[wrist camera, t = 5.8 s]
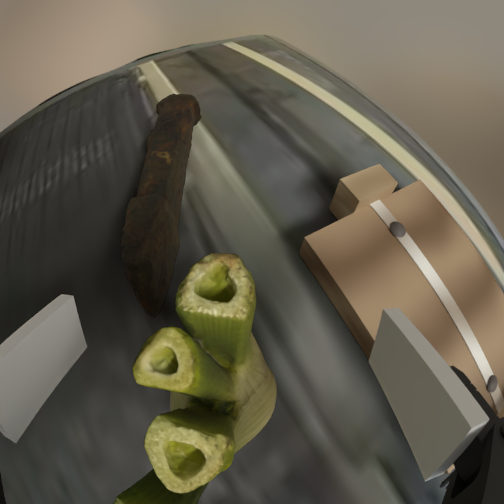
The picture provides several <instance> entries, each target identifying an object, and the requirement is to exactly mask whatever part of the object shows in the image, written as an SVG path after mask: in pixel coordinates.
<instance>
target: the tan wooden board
mask: <svg viewBox="0 0 504 504" xmlns="http://www.w3.org/2000/svg"><path fill="white" fill-rule="evenodd" d="M397 184H398V183H397V181H396V180H395V179H394V178H393V177H392V176H391V175H390V174H389V173H388V172H387V171H386V170H385V169H384V168H383V167H382V166H381V165H380V164H378V165H375V166H372V167H370V168H367V169H365V170H362V171H359V172H357V173H354V174H352V175H349V176H347V177H344V178H342V179H340V180H339V183H338V186H337V189H336V191H335V194H334V197H333V199H332V202H331V205H330V207H329V210H330V211H331V212H332V213H333V215H334V216H335V217H336V218H337V220H338V221H336V222H334V223H332V224H330V225H328V226H326V227H324V228H322V229H320V230H318V231H316V232H314V233H312V234H310V235H308V236H306V237H304V240H303V243H302V246H301V249H300V252H299V254H300V256H301V257H302V259H303V260H304V262H305V263H306V264H307V266H308V267H309V269H310V270H311V272H312V273H313V275H314V276H315V278H316V279H317V281H318V282H319V284H320V285H321V287H322V288H323V290H324V291H325V293H326V294H327V296H328V297H329V299H330V300H331V302H332V303H333V305H334V306H335V308H336V309H337V311H338V312H339V314H340V316H341V317H342V319H343V320H344V322H345V323H346V325H347V326H348V328H349V330H350V331H351V333H352V334H353V336H354V337H355V339H356V341H357V342H358V344H359V345H360V347H361V348H362V350H363V352H364V353H365V355H366V356H367V358H368V360H369V358H370V355H371V352H372V349H373V345H374V342H375V338H376V334H377V331H378V327H379V323H380V319H381V315H382V311H383V309H388V308H399V309H400V310H401V311H402V312H403V313H404V314H405V316H406V317H407V318H408V319H409V320H410V321H411V322H412V323H413V324H414V326H415V327H416V328H417V329H418V330H419V331H420V332H421V333H422V335H423V336H424V337H425V338H426V339H427V340H428V341H429V343H430V344H431V345H432V346H433V347H434V348H435V350H436V351H437V352H438V353H439V354H440V356H441V357H442V358H443V359H444V360H445V362H446V363H447V364H448V365H449V366H455V367H456V368H457V369H459V370H460V371H462V372H463V373H464V374H465V375H466V376H467V377H468V379H469V380H470V381H471V384H473V385H474V386H475V387H476V388H477V391H479V392H480V394H481V395H482V396H483V397H484V399H485V400H486V401H487V403H488V404H489V405H490V407H491V408H492V409H493V411H494V412H495V413H496V415H497V416H498V417H499V418H502V417H504V294H503V292H502V291H501V289H500V287H499V285H498V284H497V282H496V280H495V278H494V277H493V275H492V273H491V272H490V270H489V269H488V267H487V265H486V264H485V262H484V261H483V259H482V258H481V256H480V255H479V253H478V252H477V250H476V249H475V247H474V246H473V244H472V243H471V242H470V240H469V239H468V237H467V236H466V235H465V233H464V232H463V231H462V229H461V228H460V227H459V225H458V224H457V223H456V221H455V220H454V219H453V218H452V216H451V215H450V214H449V213H448V211H447V210H446V209H445V208H444V206H443V205H442V204H441V203H440V202H439V200H438V199H437V198H436V197H435V196H434V195H433V193H432V192H431V191H430V190H429V189H428V188H427V187H426V186H425V184H424V183H423V182H422V181H421V180H418V181H416V182H414V183H412V184H410V185H408V186H406V187H404V188H402V189H400V190H398V191H396V192H394V193H393V191H394V189H395V187H396V186H397ZM454 468H455V466H454V464H452V465H451V466H450V467H449V468H448V469H447V471H446V472H445V473H448V474H449V473H450V472H451V471H452V470H453V469H454Z"/></svg>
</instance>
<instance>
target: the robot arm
mask: <svg viewBox="0 0 504 504" xmlns="http://www.w3.org/2000/svg"><path fill="white" fill-rule="evenodd" d="M86 348H87V344H86V341H85V338H84V334H83V331H82V328H81V324H80V320H79V316H78V313H77V309H76V304H75V300H74V296H71V295H64V294H61V295H60V296H58V297H57V298H56V299H55V300H53V301H52V302H51V303H49V304H48V305H47V306H46V307H44V308H43V309H42V310H41V311H39V312H38V313H37V314H36V315H35V316H33V317H32V318H31V319H30V320H28V321H27V322H26V323H25V324H24V325H22V326H21V327H20V328H19V329H18V330H17V331H15V332H14V333H13V334H12V335H11V336H10V337H8V338H7V339H6V340H5V341H4V342H3V343H2V344H1V345H0V431H1V432H2V434H3V435H4V436H5V437H7V438H8V439H10V440H11V441H13V442H15V443H17V442H18V440H19V438H20V437H21V435H22V434H23V432H24V431H25V430H26V428H27V427H28V425H29V424H30V422H31V421H32V419H33V418H34V416H35V415H36V414H37V412H38V411H39V409H40V408H41V407H42V405H43V404H44V403H45V401H46V400H47V398H48V397H49V396H50V394H51V393H52V392H53V390H54V389H55V388H56V386H57V385H58V384H59V382H60V381H61V380H62V378H63V377H64V376H65V375H66V373H67V372H68V371H69V369H70V368H71V367H72V366H73V364H74V363H75V362H76V361H77V359H78V358H79V357H80V356H81V354H82V353H83V352H84V351H85V349H86ZM369 364H370V366H371V368H372V370H373V372H374V374H375V376H376V378H377V379H378V381H379V383H380V385H381V387H382V389H383V391H384V393H385V395H386V397H387V399H388V401H389V403H390V405H391V407H392V410H393V412H394V414H395V416H396V418H397V420H398V422H399V424H400V426H401V428H402V430H403V433H404V435H405V437H406V439H407V441H408V443H409V446H410V448H411V450H412V452H413V455H414V457H415V459H416V461H417V464H418V466H419V468H420V471H421V473H422V475H423V478H424V480H425V481H427V480H430V479H432V478H434V477H437V476H439V475H441V474H444V473H445V472H446V471H447V469H448V468H449V467H450V466H451V465H452V464H454V466H455V468H456V469H455V470H454V471H453V472H452V473H451V474H450V475H449V476H448V477H447V478H446V479H445V480H444V481H443V482H442V484H441V485H440V487H443V486H444V485H446V484H447V483H448V482H449V484H448V486H447V487H446V489H447V491H446V493H445V496H444V499H443V502H442V504H504V417H502V418H499V417H498V416H497V415H496V413H495V412H494V411H493V409H492V408H491V407H490V405H489V404H488V403H487V401H486V400H485V399H484V397H483V396H482V395H481V394H480V392H479V391H477V388H476V387H475V386H474V385H473V384H471V381H470V380H469V379H468V377H467V376H466V375H465V374H464V373H463V372H462V371H460V370H459V369H457V368H456V367H455V366H449V365H448V364H447V363H446V362H445V360H444V359H443V358H442V357H441V356H440V354H439V353H438V352H437V351H436V350H435V348H434V347H433V346H432V345H431V344H430V343H429V341H428V340H427V339H426V338H425V337H424V336H423V335H422V333H421V332H420V331H419V330H418V329H417V328H416V327H415V326H414V324H413V323H412V322H411V321H410V320H409V319H408V318H407V317H406V316H405V314H404V313H403V312H402V311H401V310H400V309H399V308H388V309H383V311H382V315H381V319H380V323H379V327H378V331H377V334H376V338H375V342H374V345H373V349H372V352H371V355H370V358H369ZM0 504H6V501H5V497H4V492H3V486H2V481H1V474H0Z"/></svg>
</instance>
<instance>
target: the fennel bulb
mask: <svg viewBox="0 0 504 504" xmlns="http://www.w3.org/2000/svg"><path fill="white" fill-rule="evenodd" d="M175 305H176V307H175V310H176V311H177V314H178V316H179V318H180V320H181V322H182V325H183V326H184V328H185V330H186V332H185V331H183V330H182V329H180V328H177V327H171V326H170V327H164V328H161V329H160V330H158V331H157V332H156V333H154V334H153V335H152V336H151V337H149V338H148V339H147V341H146V342H145V343H144V345H143V346H142V348H141V349H140V351H139V353H138V355H137V357H136V359H135V362H134V365H133V367H132V372H133V375H134V378H135V380H136V382H137V383H138V384H140V385H143V386H147V387H153V388H159V389H163V390H168V391H170V409H171V412H167V413H163V414H161V415H158V416H156V417H155V418H154V420H153V421H152V422H151V424H150V426H149V428H148V431H147V433H146V436H145V441H144V446H145V450H146V452H147V454H148V457H149V460H150V462H151V465H152V467H153V468H154V469H153V470H151V471H150V472H149V473H148V474H147V475H146V476H144V477H143V478H142V479H141V480H139V481H138V482H136V483H135V484H134V485H132V486H131V487H130V488H128V489H127V490H125V491H123V492H122V493H121V494H119V495H118V496H117V497H116V500H115V502H114V503H113V504H197V503H198V501H199V498H200V496H201V495H202V493H203V492H204V490H205V488H206V486H207V485H208V483H209V481H210V480H212V479H213V478H215V476H216V475H217V474H219V473H220V472H222V471H224V470H226V469H227V468H228V467H229V466H230V465H231V463H232V461H233V457H234V454H235V453H236V452H237V451H238V450H239V449H241V448H242V447H243V446H244V445H245V444H247V443H248V442H249V441H250V440H251V439H253V438H254V436H255V435H257V434H258V433H259V432H260V430H262V428H263V427H264V426H265V425H266V423H267V422H268V421H269V419H270V418H271V415H272V412H273V410H274V407H275V402H276V394H277V388H276V382H275V378H274V375H273V373H272V371H271V370H270V368H269V367H268V366H267V364H266V362H265V360H264V357H263V354H262V353H261V350H260V348H259V346H258V344H257V342H256V340H255V338H254V336H253V334H252V332H251V331H252V323H253V318H254V313H255V308H256V294H255V283H254V280H253V277H252V274H251V273H250V272H249V270H248V269H247V268H246V267H245V265H244V263H243V261H242V259H241V258H240V257H239V256H238V255H237V254H225V253H216V254H215V253H211V254H209V255H207V256H204V257H203V259H201V260H200V261H199V262H197V263H195V264H193V266H192V267H191V268H190V270H189V272H188V274H187V275H186V278H185V279H184V280H183V281H182V282H181V283H180V285H179V288H178V291H177V294H176V302H175Z"/></svg>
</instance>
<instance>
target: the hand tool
mask: <svg viewBox="0 0 504 504" xmlns="http://www.w3.org/2000/svg"><path fill="white" fill-rule="evenodd" d="M156 108H157V113H158V115H159V116H158V119H157V122H156V126H155V128H154V129H153V130H152V131H151V134H150V136H148V137H147V140H146V146H147V149H148V151H147V155H146V159H145V162H144V165H143V170H142V173H141V177H140V182H139V187H138V192H137V196H136V197H133V198H131V199H130V200H129V203H128V206H127V211H126V214H125V226H124V228H123V229H122V237H123V238H122V239H121V256H122V260H123V263H124V266H125V269H126V275H127V278H128V280H129V282H130V284H131V286H132V288H133V290H134V292H135V295H136V297H137V299H138V301H139V303H140V304H141V305H142V307H143V308H144V309H145V310H146V312H147V313H148V314H149V315H151V316H152V317H154V318H155V317H156V316H157V315H158V313H159V312H160V310H161V308H162V305H163V303H164V301H165V298H166V294H167V291H168V288H169V284H170V281H171V278H172V275H173V268H174V263H175V259H176V256H177V252H178V248H179V236H178V221H179V213H180V207H181V201H182V195H183V187H184V184H185V178H186V167H187V161H188V158H189V153H190V149H191V140H192V131H193V126H194V125H196V124H197V123H198V121H199V120H200V118H201V115H200V107H199V103H198V101H197V100H196V98H195V97H194V96H192V95H187V94H178V95H176V94H171V95H169V96H167V97H166V98H164V99H162V100H161V101H160V102H159V103H158V104H157V105H156Z"/></svg>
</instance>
